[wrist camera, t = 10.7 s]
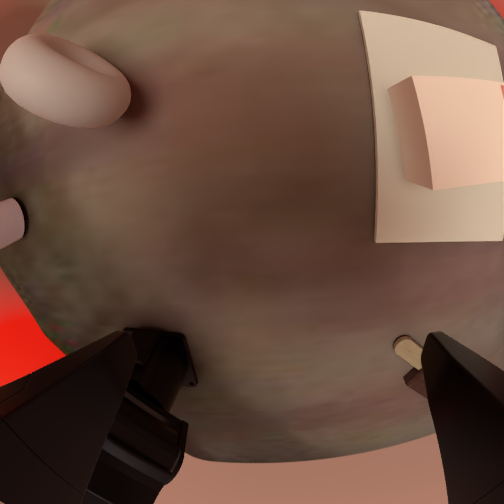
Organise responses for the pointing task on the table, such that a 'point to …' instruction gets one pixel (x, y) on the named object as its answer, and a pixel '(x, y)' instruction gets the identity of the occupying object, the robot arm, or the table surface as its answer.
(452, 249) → the table surface
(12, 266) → the table surface
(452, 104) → the card deck
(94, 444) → the robot arm
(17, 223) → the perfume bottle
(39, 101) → the donut
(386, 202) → the mat
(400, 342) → the ice cream bar
